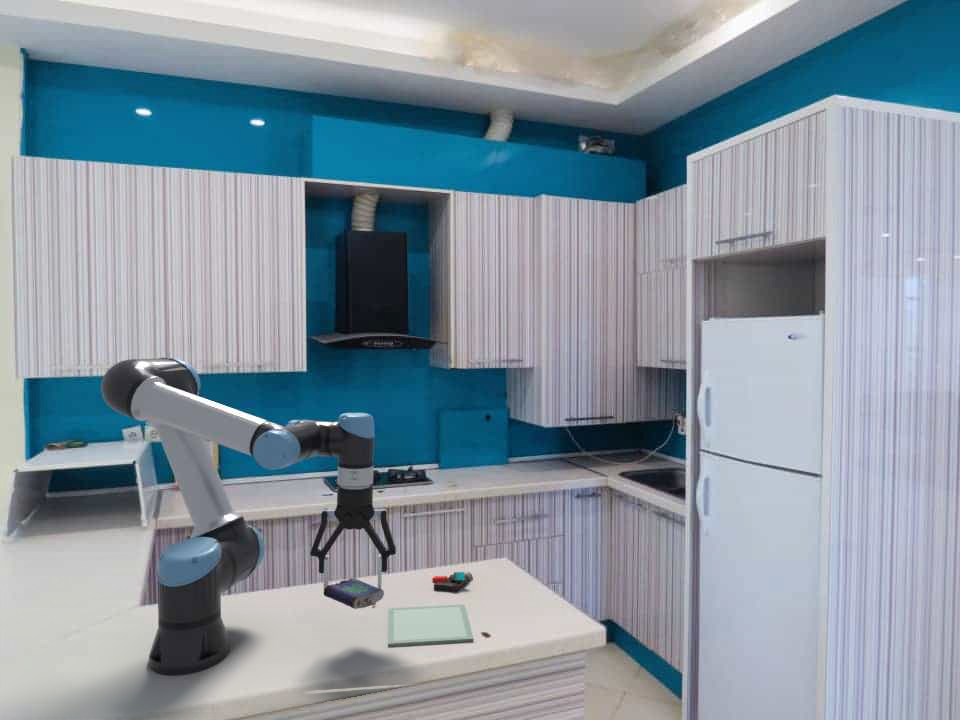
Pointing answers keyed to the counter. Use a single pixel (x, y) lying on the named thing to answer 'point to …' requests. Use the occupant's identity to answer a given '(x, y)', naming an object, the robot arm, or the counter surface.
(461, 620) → the mat
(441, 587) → the toy gun
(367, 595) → the blue clover box
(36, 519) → the counter surface
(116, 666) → the counter surface
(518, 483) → the counter surface
